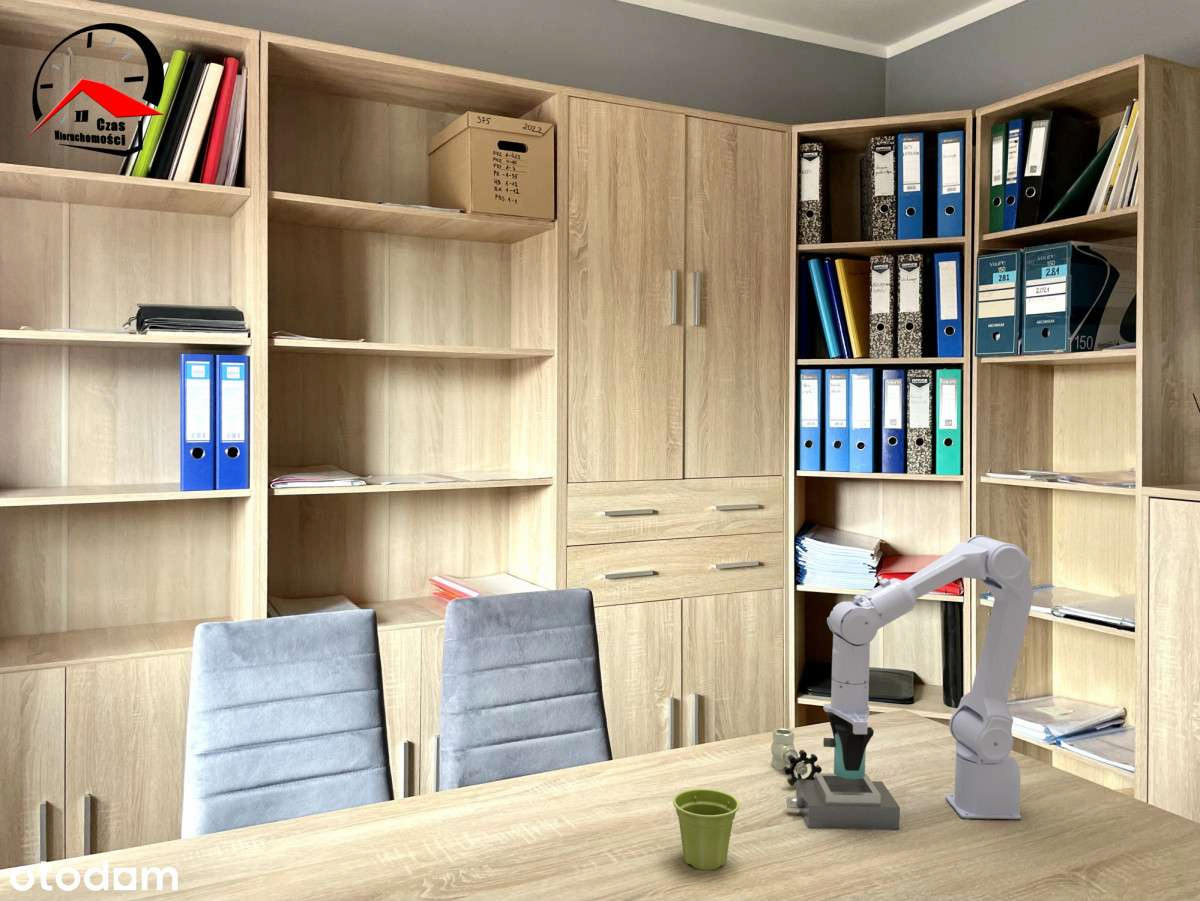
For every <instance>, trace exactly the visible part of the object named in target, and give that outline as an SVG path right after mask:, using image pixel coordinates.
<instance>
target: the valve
mask: <svg viewBox="0 0 1200 901" xmlns="http://www.w3.org/2000/svg"><path fill="white" fill-rule="evenodd" d="M772 740H773V741H772V743H771V746H770V750H771V755H772V757H771V766H772V767H773V768H774V769H775V770H776V769H778V770H777V771H783V773H784V774H785V775H787V776H789V775H790V778H787V780H786V781H787V783H788V785H790V786H791V787H793V786H795V785H796V784H797V780H815V773H822V770H823V769H822V767H821V766H820V765H819V764H816V765H815V763H816V762H818V756H817V755H816V754H814V753H811V754H810V757H808V754H807V752H806V750H804V749H800V750H799V751H797V750H796V748H795V747H796V746H795V744H794V743H795V733H794V731H793V730H792V729H790V728H785V727H780V728H775V729H774V730H772ZM807 765H810V767H811V768H810V773H809V774H808V776H806V777H804V778H803V777H802V776H805V775H806V774H807V773H808V767H807ZM795 772H796V774H797V776H796V775H795Z"/></svg>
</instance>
